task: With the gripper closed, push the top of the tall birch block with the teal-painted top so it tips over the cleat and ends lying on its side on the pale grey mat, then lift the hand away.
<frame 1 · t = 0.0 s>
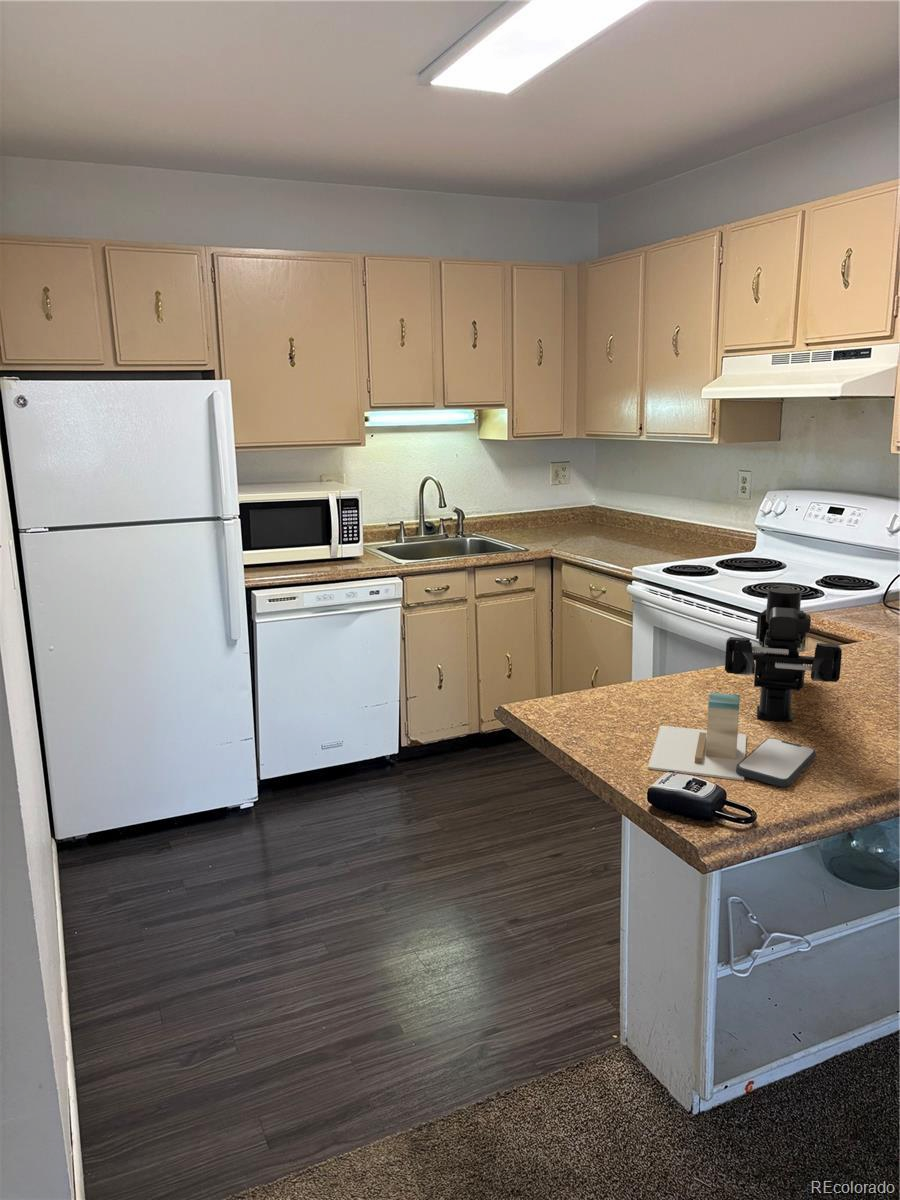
hand: (782, 673, 142), 17 cm above the countertop, tool horizontal, fingers open, 9 cm apart
phone case: (776, 766, 145), on the countertop, touching grey mat
birch block: (721, 752, 151), resting on grey mat
grey mat: (699, 751, 152), on the countertop
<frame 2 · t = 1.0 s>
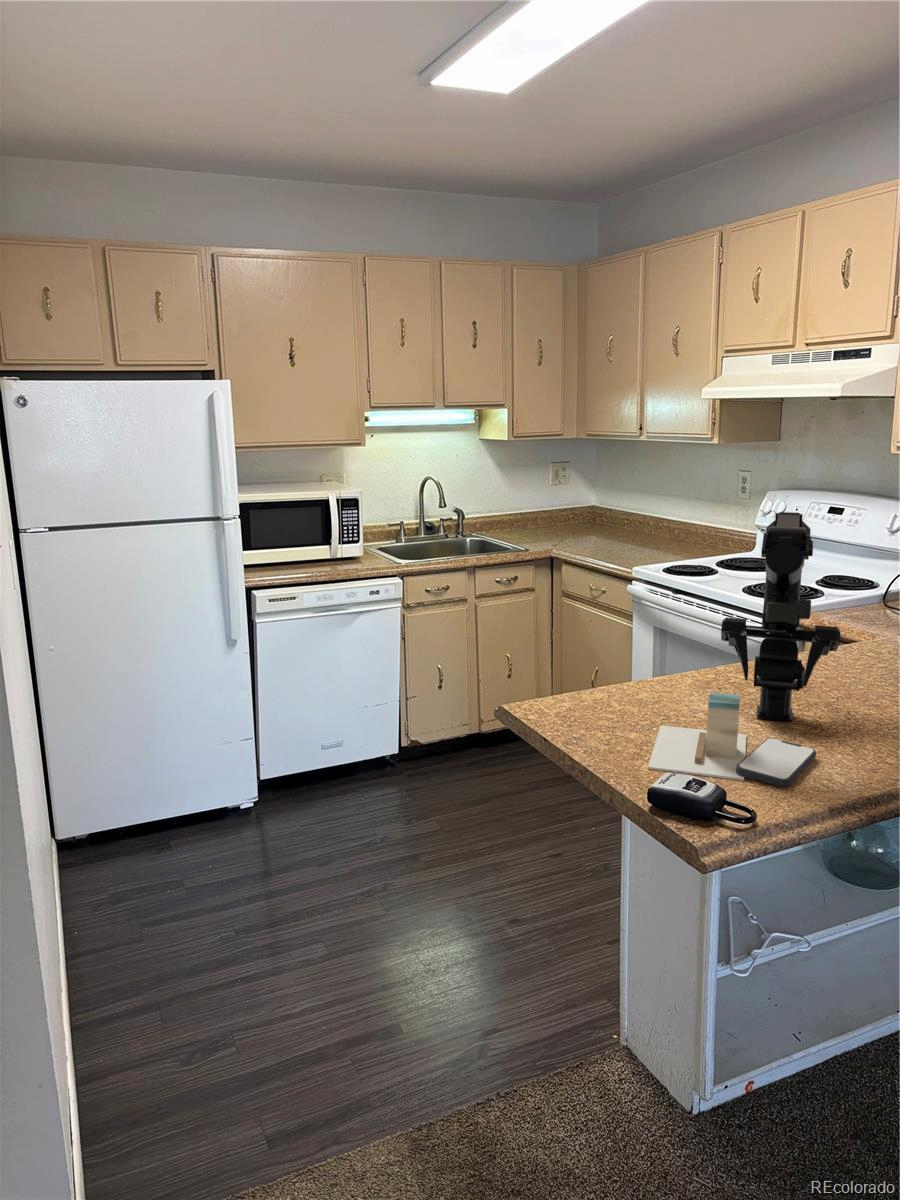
hand: (775, 683, 144), 14 cm above the countertop, tool tilted 30°, fingers open, 9 cm apart
nothing on the countertop moved.
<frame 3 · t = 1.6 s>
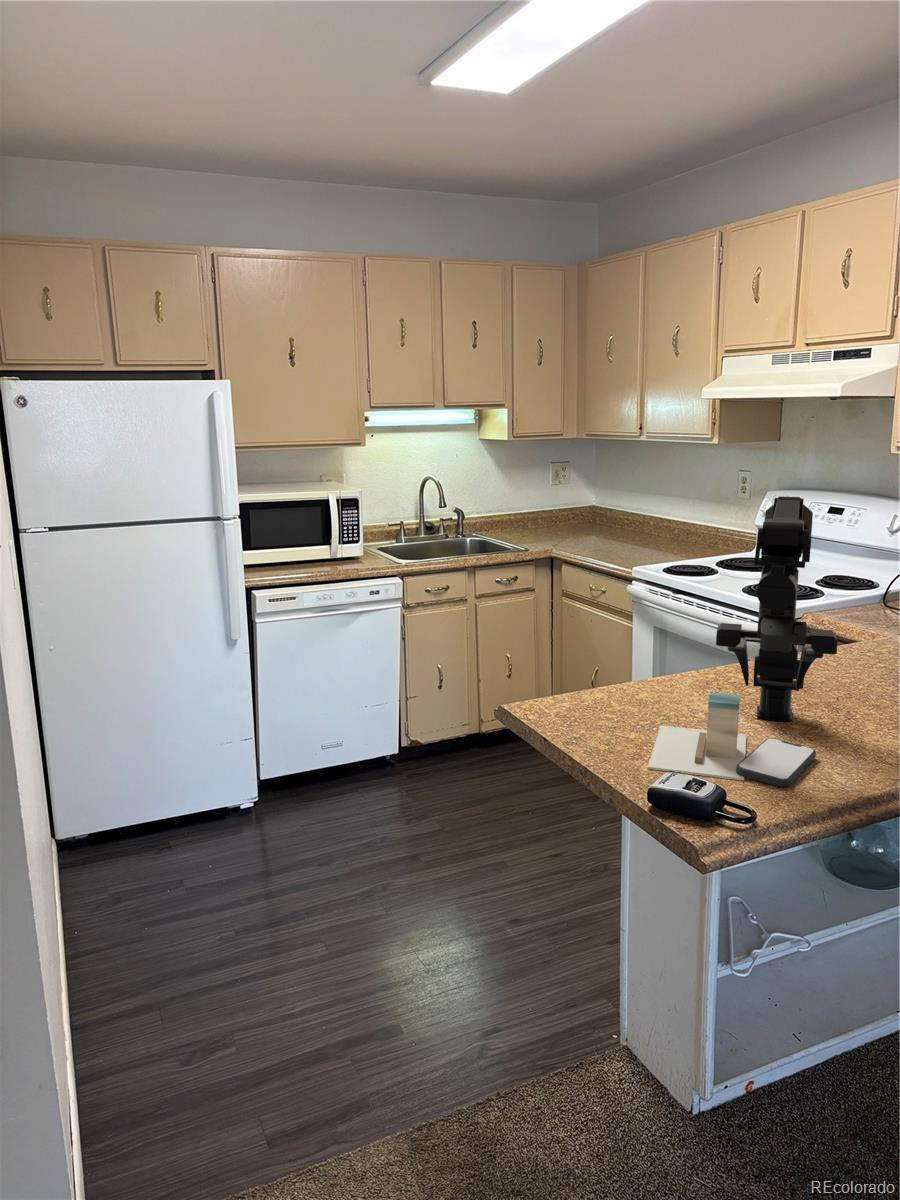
hand: (771, 687, 145), 13 cm above the countertop, tool pointing down, fingers open, 8 cm apart
nothing on the countertop moved.
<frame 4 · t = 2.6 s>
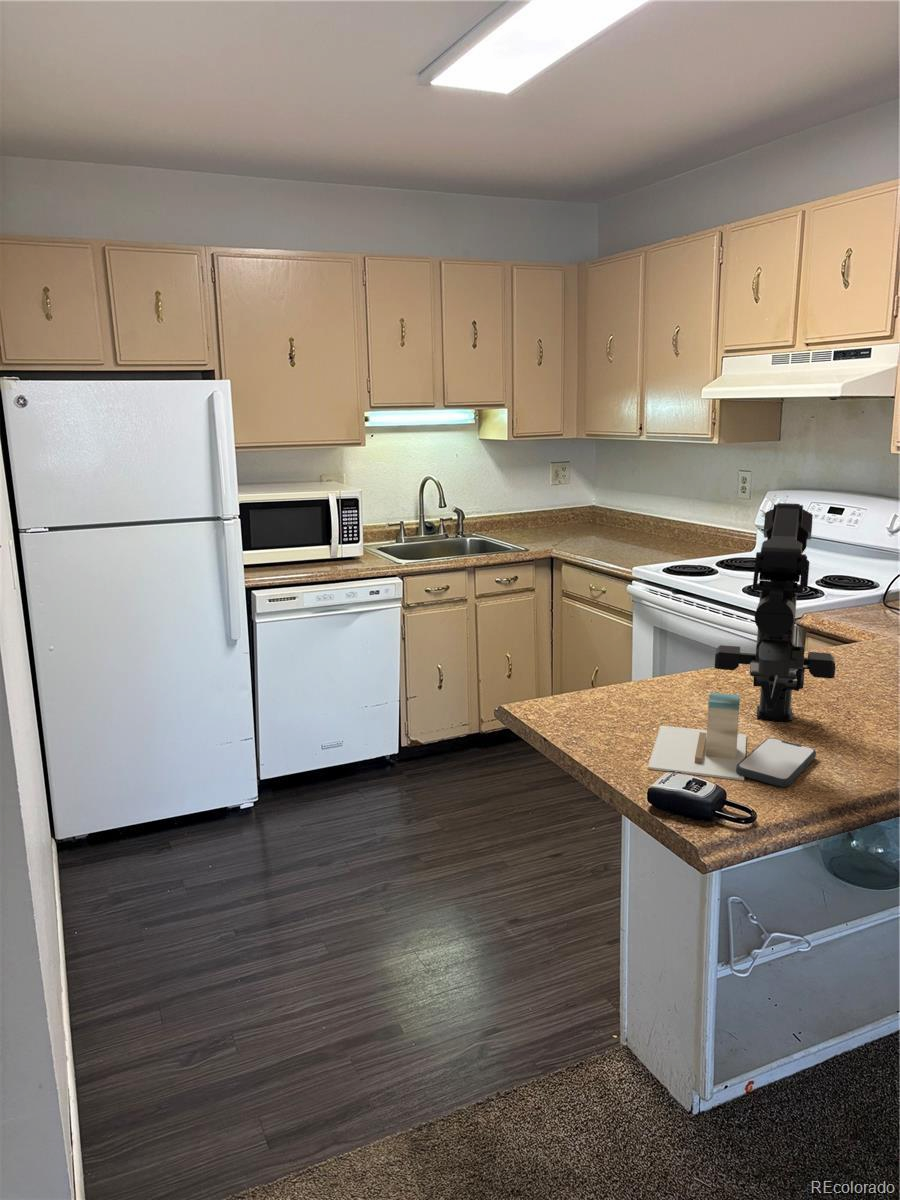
hand: (770, 709, 146), 9 cm above the countertop, tool pointing down, fingers closed
nothing on the countertop moved.
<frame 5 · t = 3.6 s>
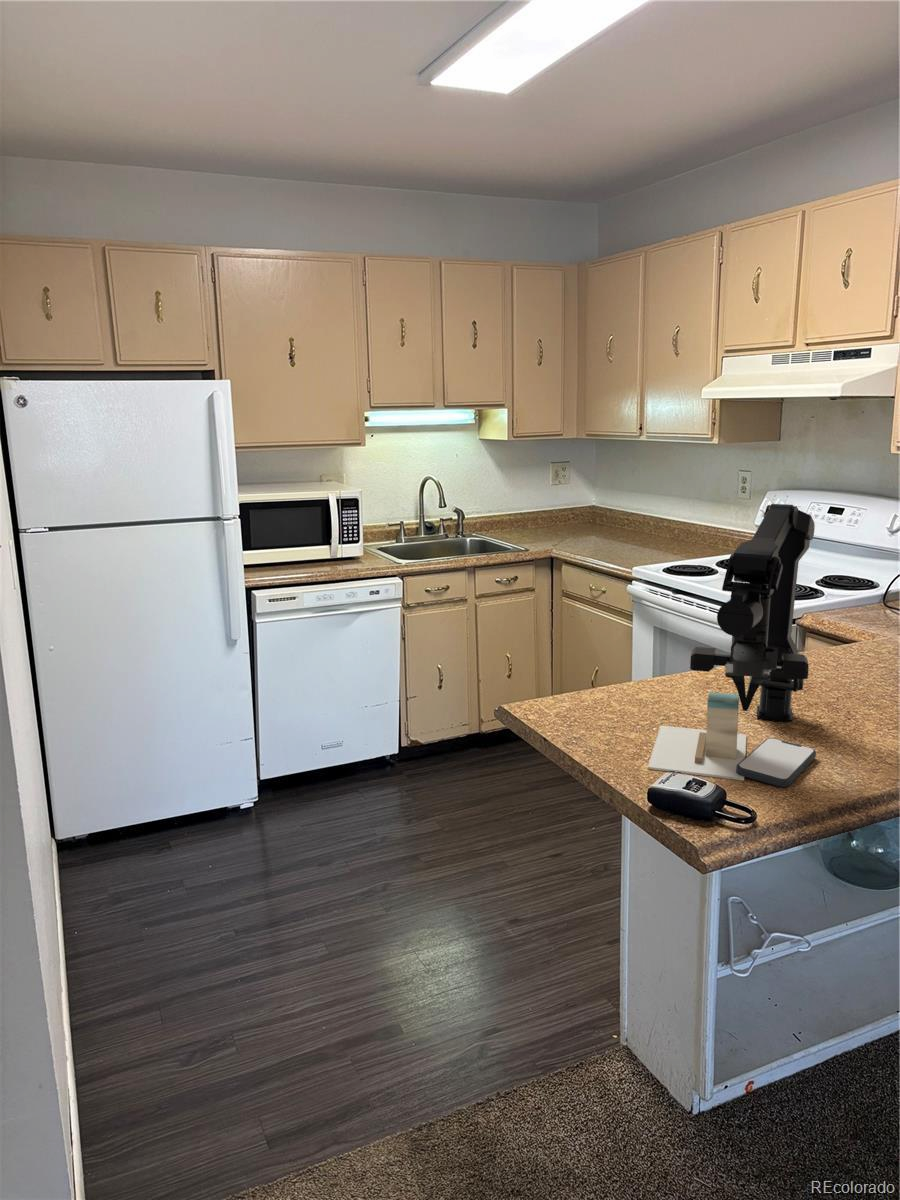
hand: (745, 710, 148), 9 cm above the countertop, tool pointing down, fingers closed
birch block: (721, 752, 151), resting on grey mat, touching gripper
everything else where it was.
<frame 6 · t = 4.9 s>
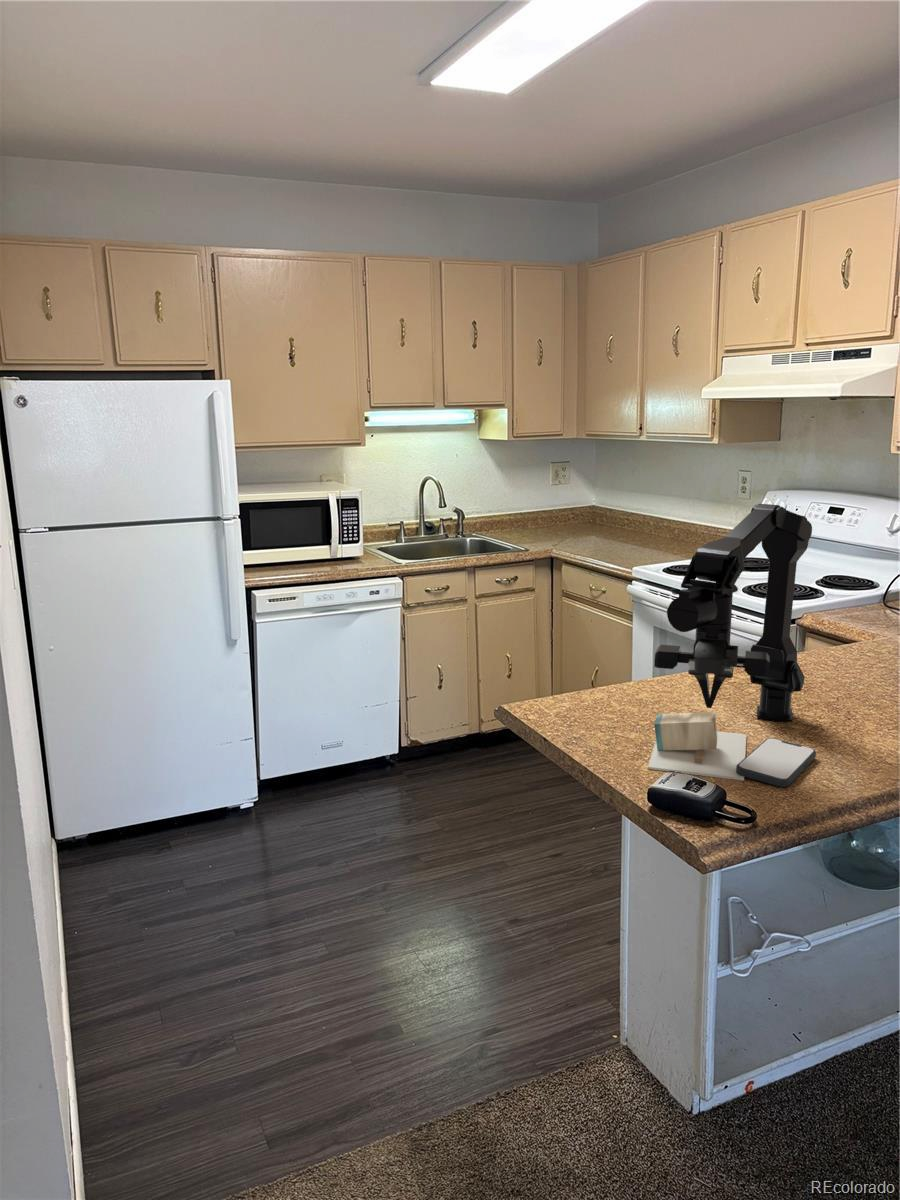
hand: (709, 707, 150), 9 cm above the countertop, tool pointing down, fingers closed
birch block: (715, 730, 150), point 4 cm above the countertop, tilted 99°, touching grey mat
everything else where it was.
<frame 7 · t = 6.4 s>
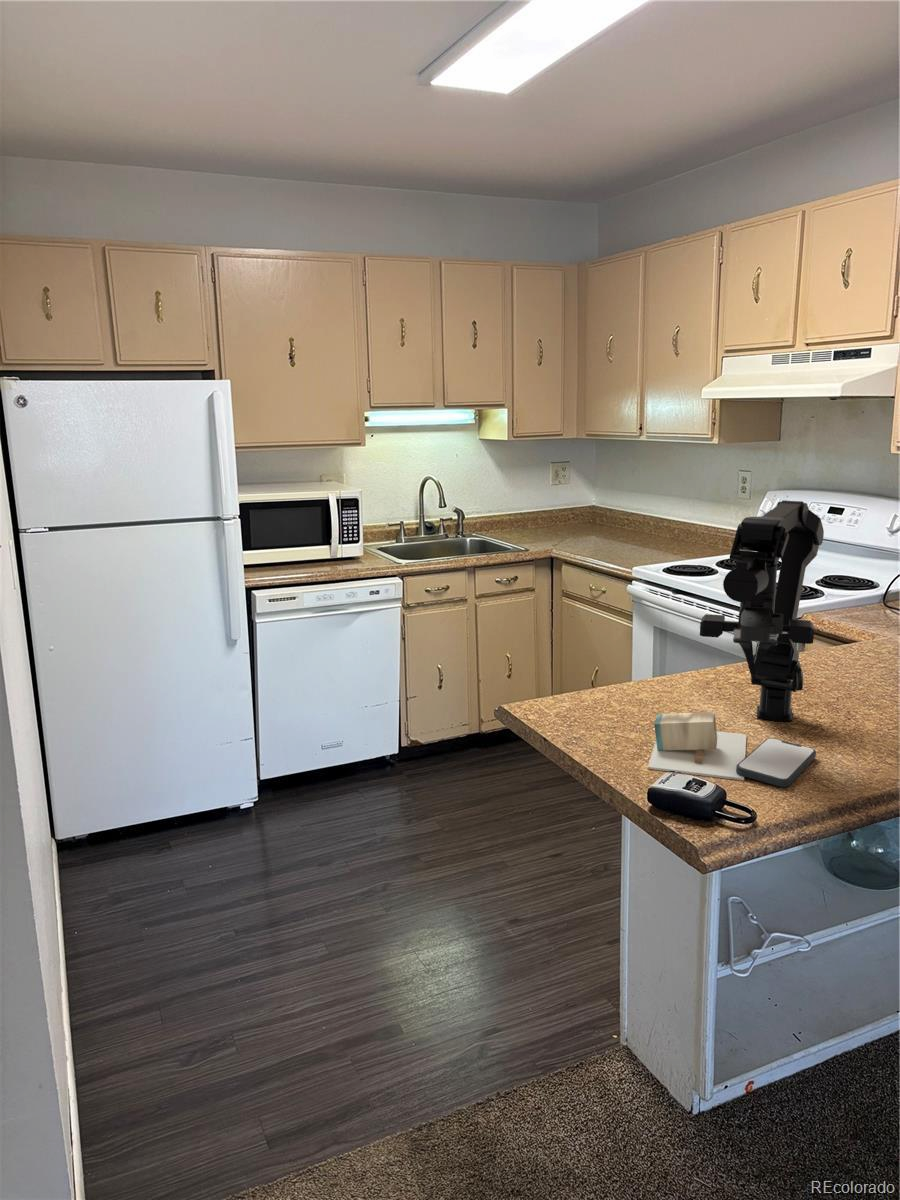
hand: (753, 674, 154), 13 cm above the countertop, tool pointing down, fingers closed
nothing on the countertop moved.
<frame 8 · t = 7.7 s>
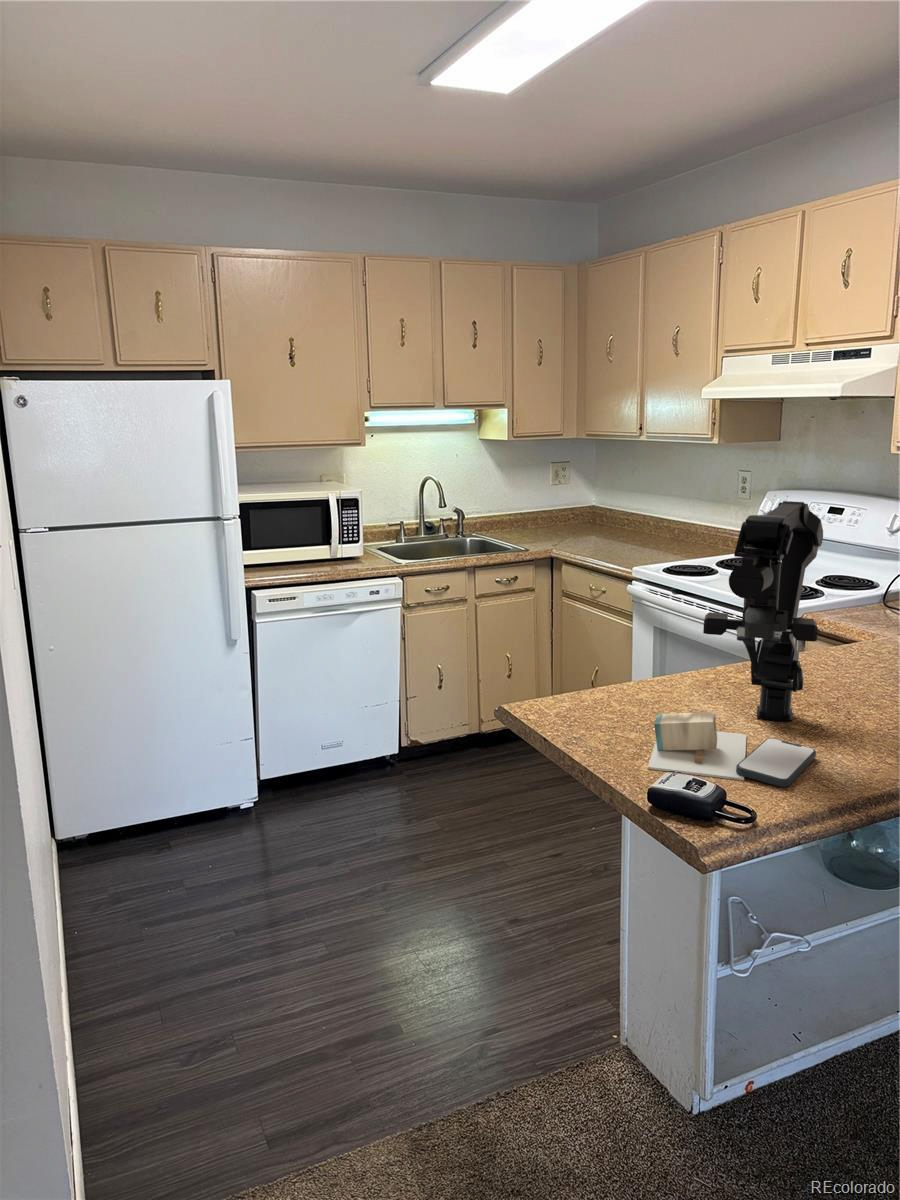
hand: (756, 672, 154), 13 cm above the countertop, tool pointing down, fingers closed
nothing on the countertop moved.
at the end: birch block tilted 99°; birch block inside the target area (0.3 cm from its centre), point 4.4 cm above the countertop; phone case moved 0.0 cm from its start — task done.
